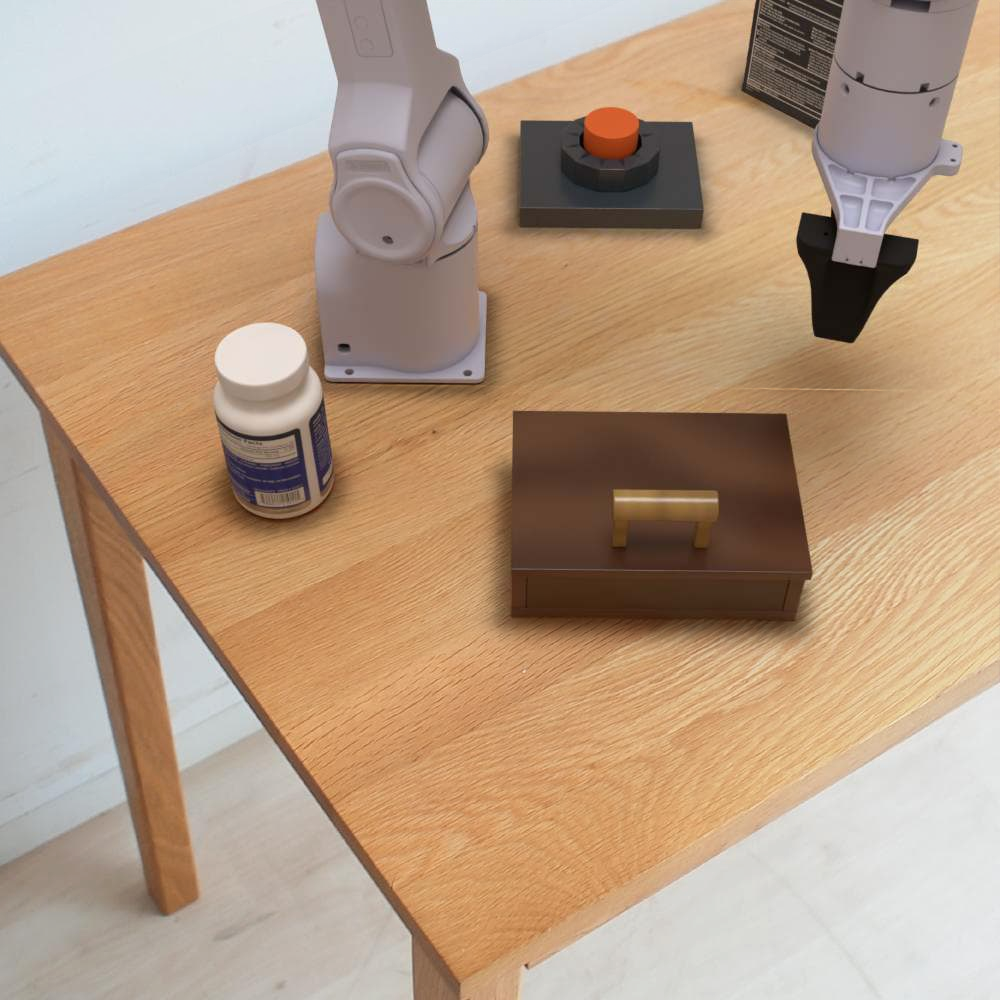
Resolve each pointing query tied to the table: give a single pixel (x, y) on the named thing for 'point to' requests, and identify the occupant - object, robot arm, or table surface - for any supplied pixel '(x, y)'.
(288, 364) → the pill bottle
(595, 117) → the button
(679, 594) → the compartment
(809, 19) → the small box
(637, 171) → the control block
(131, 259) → the table surface
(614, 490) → the lid
